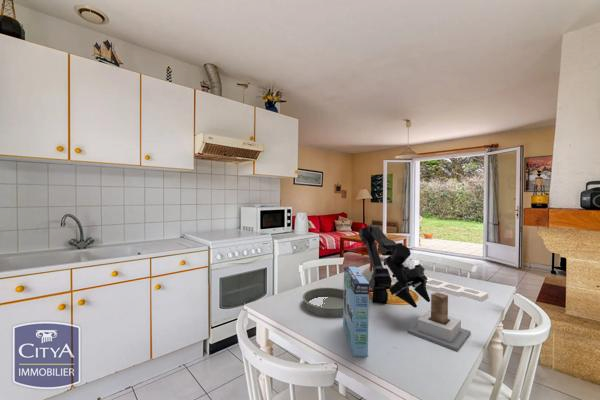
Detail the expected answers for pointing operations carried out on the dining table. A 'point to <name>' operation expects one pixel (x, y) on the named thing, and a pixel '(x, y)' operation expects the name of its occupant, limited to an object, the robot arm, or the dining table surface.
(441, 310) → the walnut peg
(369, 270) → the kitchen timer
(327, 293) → the cake pan
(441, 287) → the holder
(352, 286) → the gum box
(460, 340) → the socket board
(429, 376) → the dining table surface
